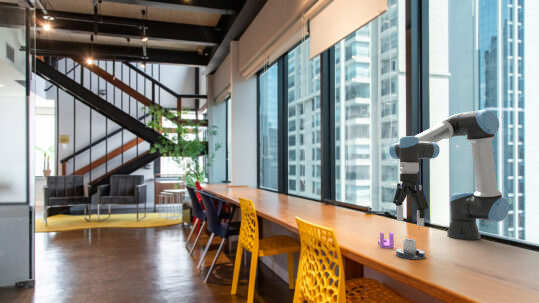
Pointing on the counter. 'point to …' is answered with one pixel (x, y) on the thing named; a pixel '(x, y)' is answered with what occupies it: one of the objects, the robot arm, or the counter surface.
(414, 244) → the grey cylinder
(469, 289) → the counter surface
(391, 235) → the bracket
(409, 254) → the barrel ring
